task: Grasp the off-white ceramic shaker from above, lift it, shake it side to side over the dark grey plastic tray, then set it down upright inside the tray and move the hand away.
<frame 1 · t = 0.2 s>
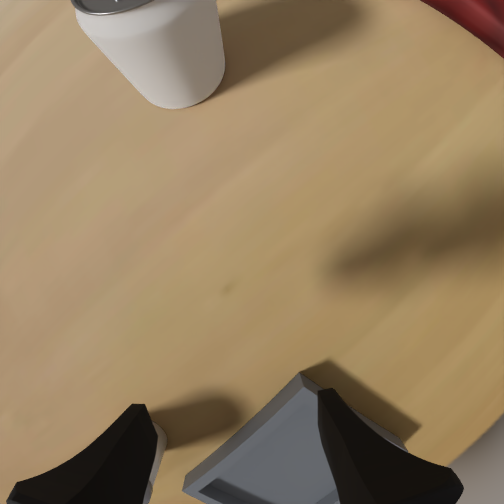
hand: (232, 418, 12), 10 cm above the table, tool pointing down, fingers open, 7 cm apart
can: (181, 72, 20), on the table
hardcover book: (468, 1, 20), on the table
tray: (294, 464, 24), on the table
shaker: (142, 435, 23), on the table
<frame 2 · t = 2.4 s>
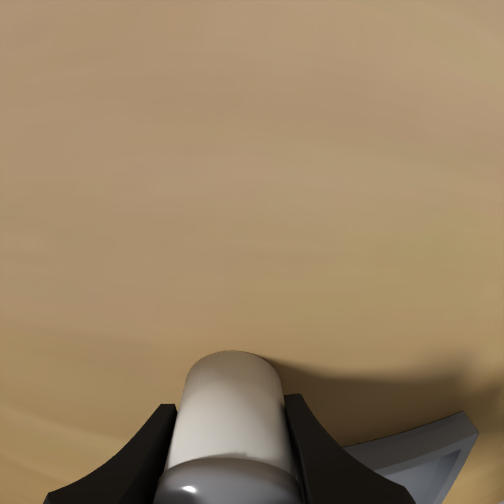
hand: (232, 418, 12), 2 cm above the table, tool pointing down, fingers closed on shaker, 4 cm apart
tray: (346, 498, 17), on the table
shaker: (233, 390, 14), on the table, touching gripper
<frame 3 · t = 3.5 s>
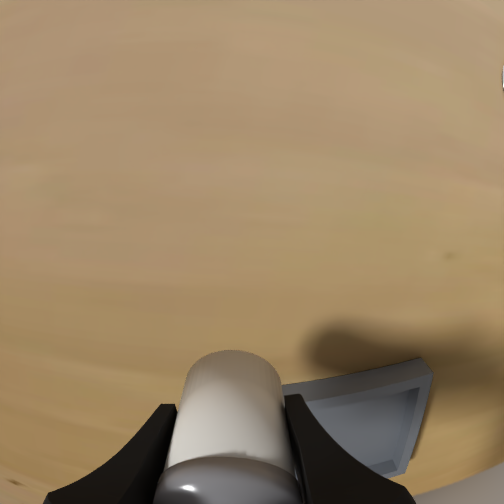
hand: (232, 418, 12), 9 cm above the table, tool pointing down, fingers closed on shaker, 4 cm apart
tray: (328, 435, 23), on the table
shaker: (233, 389, 14), point 7 cm above the table, touching gripper
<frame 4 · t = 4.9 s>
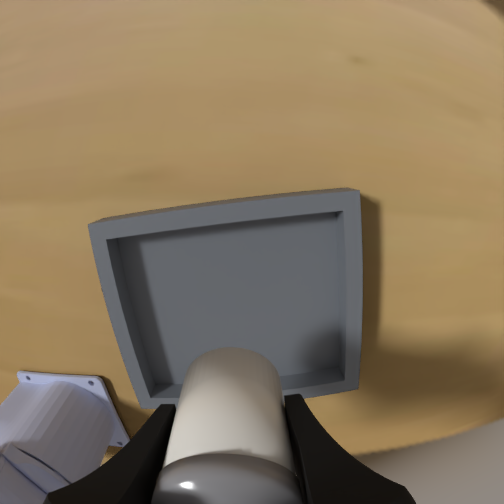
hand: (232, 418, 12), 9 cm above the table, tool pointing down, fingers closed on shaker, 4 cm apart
tray: (234, 304, 20), on the table
shaker: (232, 387, 14), point 7 cm above the table, touching gripper
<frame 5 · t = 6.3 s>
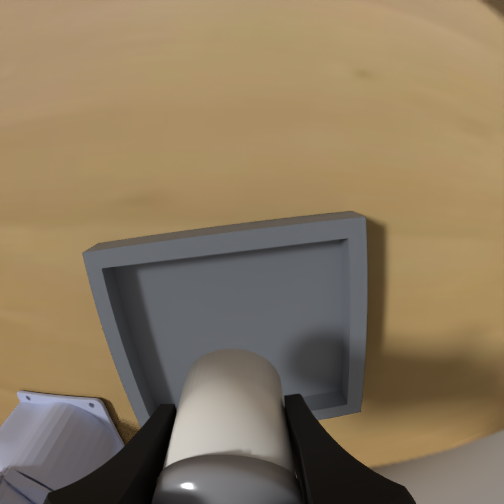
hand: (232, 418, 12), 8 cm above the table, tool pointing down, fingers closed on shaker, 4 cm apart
tray: (235, 330, 20), on the table
shaker: (233, 388, 14), point 6 cm above the table, touching gripper
when the fingers open (4 cm above the table, at t = 7.6 s): shaker drops 1 cm, resting on tray.
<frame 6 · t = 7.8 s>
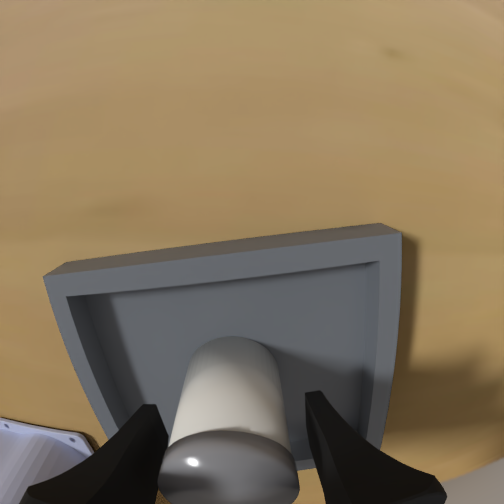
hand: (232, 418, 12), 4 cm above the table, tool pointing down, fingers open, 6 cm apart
tray: (234, 368, 16), on the table
shaker: (233, 374, 15), point 1 cm above the table, touching tray
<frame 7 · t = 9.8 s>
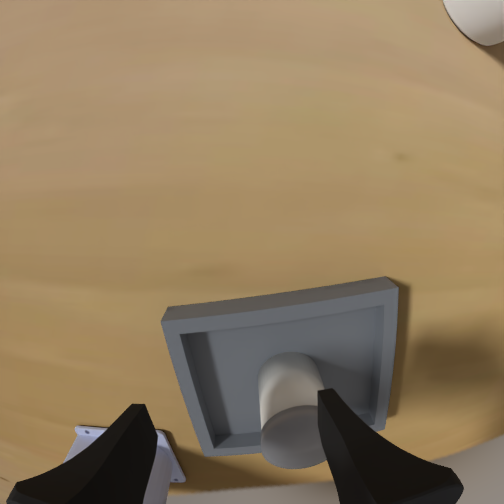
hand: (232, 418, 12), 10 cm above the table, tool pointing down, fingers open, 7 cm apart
can: (468, 14, 16), on the table
tray: (287, 372, 23), on the table
shaker: (288, 376, 22), point 1 cm above the table, touching tray
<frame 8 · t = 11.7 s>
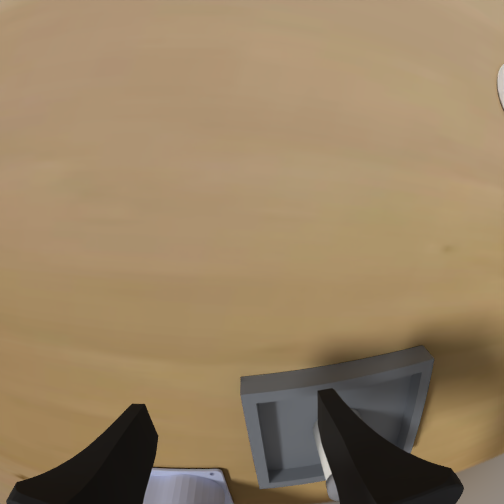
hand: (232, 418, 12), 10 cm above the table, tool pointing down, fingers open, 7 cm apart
tray: (336, 420, 25), on the table
shaker: (337, 425, 24), point 1 cm above the table, touching tray
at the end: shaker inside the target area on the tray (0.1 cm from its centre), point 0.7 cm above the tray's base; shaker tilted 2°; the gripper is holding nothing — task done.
